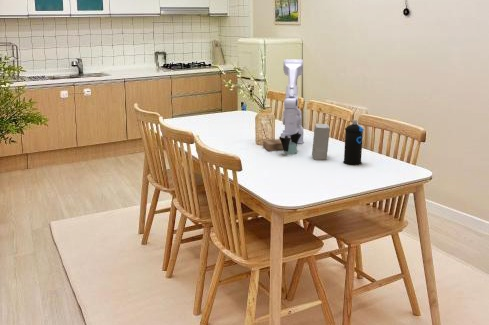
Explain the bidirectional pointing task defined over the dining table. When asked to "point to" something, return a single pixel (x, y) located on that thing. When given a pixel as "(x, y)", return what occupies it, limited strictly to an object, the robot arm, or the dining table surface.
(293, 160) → the dining table surface
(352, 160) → the aerosol can
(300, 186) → the dining table surface
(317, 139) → the skincare box
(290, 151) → the teal block
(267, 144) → the walnut block
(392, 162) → the dining table surface
